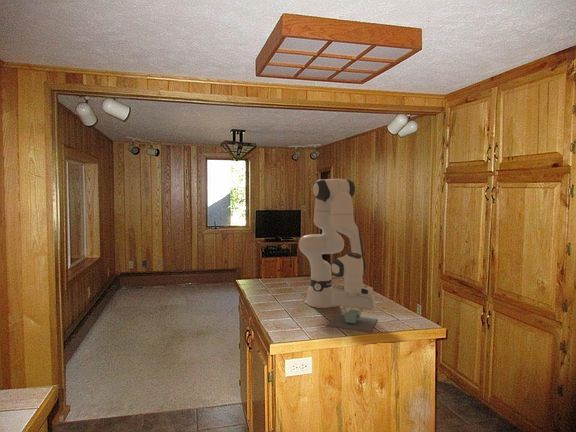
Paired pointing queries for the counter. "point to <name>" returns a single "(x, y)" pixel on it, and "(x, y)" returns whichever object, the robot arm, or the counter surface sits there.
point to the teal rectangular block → (352, 316)
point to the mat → (360, 324)
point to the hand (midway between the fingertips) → (352, 316)
